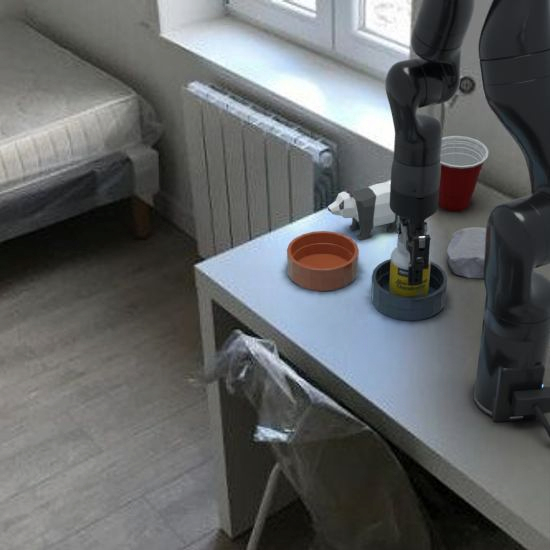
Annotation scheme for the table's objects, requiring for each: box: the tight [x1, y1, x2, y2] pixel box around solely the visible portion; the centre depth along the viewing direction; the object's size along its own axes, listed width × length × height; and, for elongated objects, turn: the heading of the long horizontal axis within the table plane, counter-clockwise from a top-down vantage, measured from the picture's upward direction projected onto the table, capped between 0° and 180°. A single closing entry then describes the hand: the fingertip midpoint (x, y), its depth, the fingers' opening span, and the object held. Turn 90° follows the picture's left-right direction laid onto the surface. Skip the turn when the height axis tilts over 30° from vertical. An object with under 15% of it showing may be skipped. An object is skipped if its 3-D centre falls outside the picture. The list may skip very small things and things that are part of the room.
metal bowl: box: [370, 258, 449, 321], centre depth 160 cm, size 12×12×4 cm
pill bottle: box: [389, 234, 432, 297], centre depth 158 cm, size 6×6×12 cm
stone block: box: [446, 226, 486, 279], centre depth 169 cm, size 12×5×10 cm
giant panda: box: [327, 182, 397, 241], centre depth 176 cm, size 15×6×10 cm, turn 111°
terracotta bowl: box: [286, 230, 360, 292], centre depth 167 cm, size 12×12×4 cm
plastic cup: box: [438, 135, 489, 213], centre depth 182 cm, size 11×11×12 cm
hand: (409, 268), depth 158 cm, fingers open, 8 cm apart
